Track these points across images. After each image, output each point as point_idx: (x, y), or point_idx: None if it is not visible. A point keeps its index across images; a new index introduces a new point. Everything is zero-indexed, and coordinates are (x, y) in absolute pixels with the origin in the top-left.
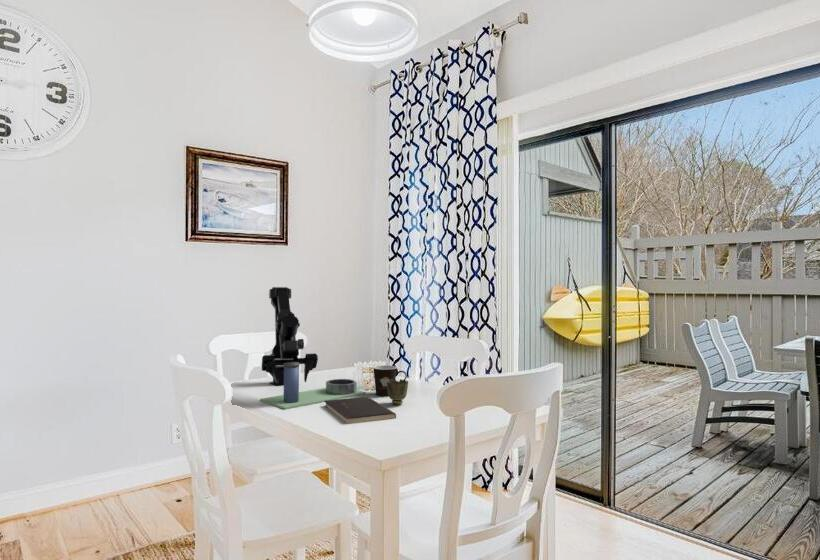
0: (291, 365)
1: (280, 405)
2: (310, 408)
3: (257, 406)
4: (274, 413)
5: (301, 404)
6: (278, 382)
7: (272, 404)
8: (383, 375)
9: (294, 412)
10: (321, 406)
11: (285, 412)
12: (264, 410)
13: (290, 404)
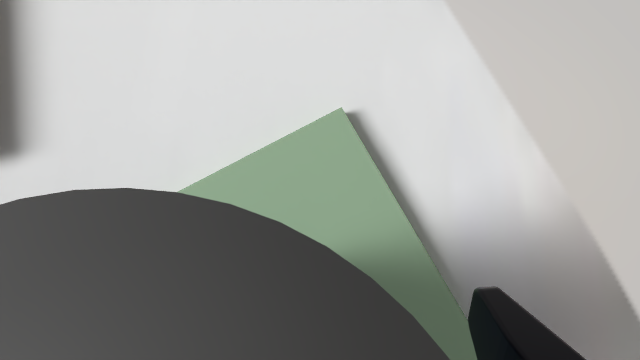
0: (162, 205)
1: (381, 195)
2: (122, 102)
3: (588, 282)
4: (427, 16)
5: (184, 188)
6: (473, 293)
7: (454, 306)
8: None
9: (270, 9)
10: (12, 149)
11: (340, 25)
12: (512, 124)
13: (286, 212)
